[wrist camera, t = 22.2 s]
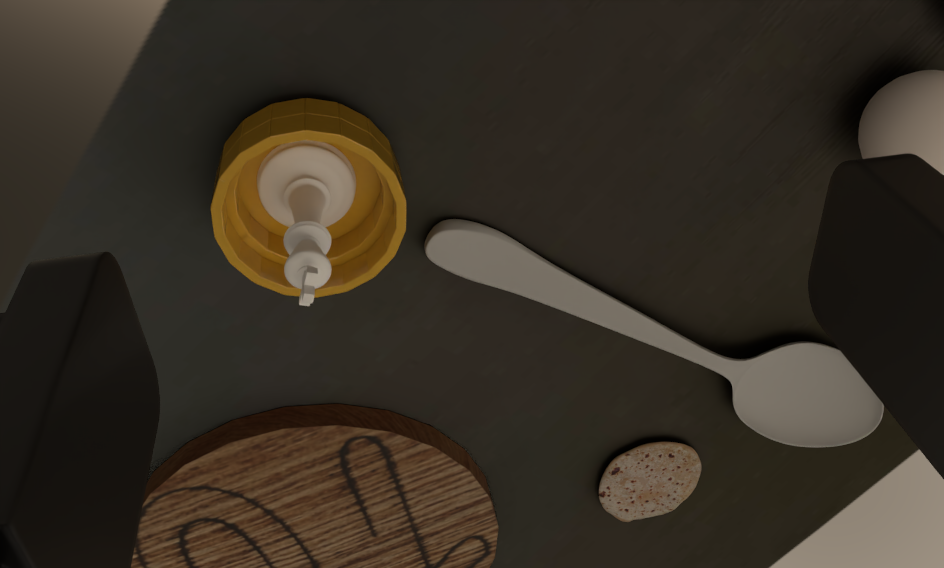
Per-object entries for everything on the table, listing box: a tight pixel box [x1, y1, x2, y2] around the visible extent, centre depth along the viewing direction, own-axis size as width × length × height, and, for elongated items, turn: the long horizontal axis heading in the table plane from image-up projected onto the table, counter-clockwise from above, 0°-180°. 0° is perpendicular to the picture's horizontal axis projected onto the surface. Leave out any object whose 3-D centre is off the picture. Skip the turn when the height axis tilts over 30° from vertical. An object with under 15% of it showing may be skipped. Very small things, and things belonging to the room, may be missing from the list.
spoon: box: [424, 219, 884, 447], centre depth 53 cm, size 35×8×3 cm, turn 60°
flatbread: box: [599, 442, 701, 522], centre depth 61 cm, size 8×8×1 cm
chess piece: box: [257, 140, 356, 306], centre depth 39 cm, size 5×5×10 cm
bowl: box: [210, 98, 406, 298], centre depth 42 cm, size 9×9×4 cm
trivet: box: [131, 404, 498, 568], centre depth 59 cm, size 25×25×2 cm
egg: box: [858, 70, 944, 175], centre depth 44 cm, size 6×6×8 cm
